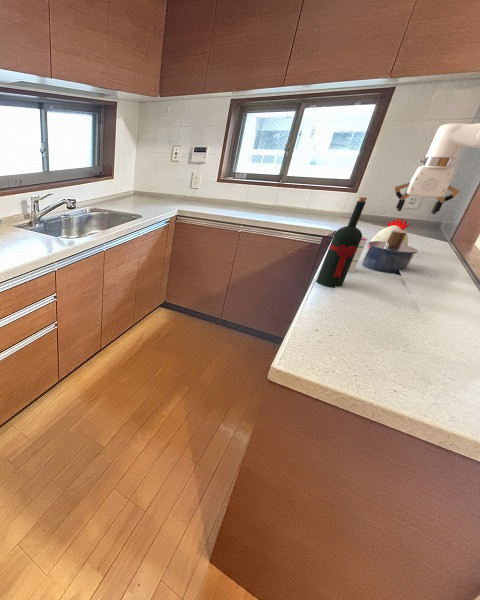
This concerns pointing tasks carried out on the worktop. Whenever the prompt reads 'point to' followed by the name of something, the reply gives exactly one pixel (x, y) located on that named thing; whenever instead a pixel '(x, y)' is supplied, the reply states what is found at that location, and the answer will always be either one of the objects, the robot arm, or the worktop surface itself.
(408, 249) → the lid
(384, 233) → the chicken figurine
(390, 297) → the worktop surface
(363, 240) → the syrup box
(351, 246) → the wine bottle
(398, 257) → the pot
